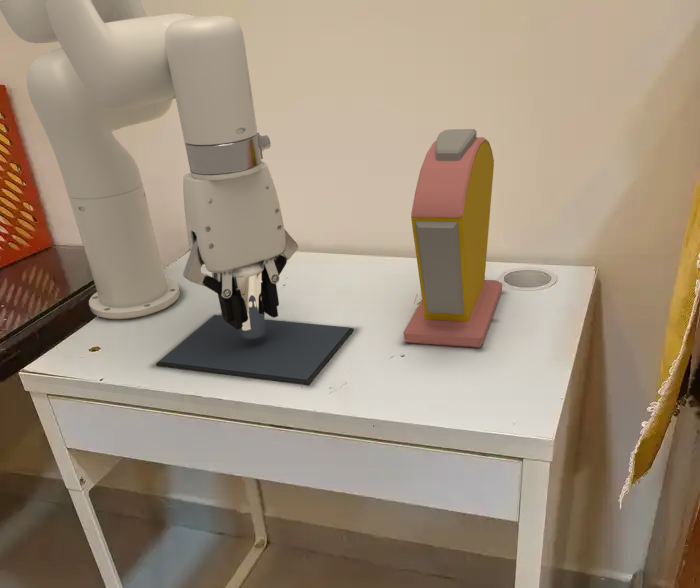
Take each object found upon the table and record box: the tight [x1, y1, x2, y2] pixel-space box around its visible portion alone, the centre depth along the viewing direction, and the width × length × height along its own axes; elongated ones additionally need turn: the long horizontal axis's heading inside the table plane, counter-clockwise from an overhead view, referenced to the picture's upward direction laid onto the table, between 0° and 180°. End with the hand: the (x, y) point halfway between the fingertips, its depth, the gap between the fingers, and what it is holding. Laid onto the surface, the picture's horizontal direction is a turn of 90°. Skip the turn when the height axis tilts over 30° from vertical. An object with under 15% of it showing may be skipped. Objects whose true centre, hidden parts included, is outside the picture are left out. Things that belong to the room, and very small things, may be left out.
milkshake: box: [232, 260, 266, 339], centre depth 84 cm, size 4×5×10 cm
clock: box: [403, 128, 503, 348], centre depth 84 cm, size 22×9×22 cm, turn 162°
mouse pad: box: [155, 314, 355, 386], centre depth 88 cm, size 20×14×1 cm
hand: (252, 318), depth 85 cm, fingers closed on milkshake, 4 cm apart
